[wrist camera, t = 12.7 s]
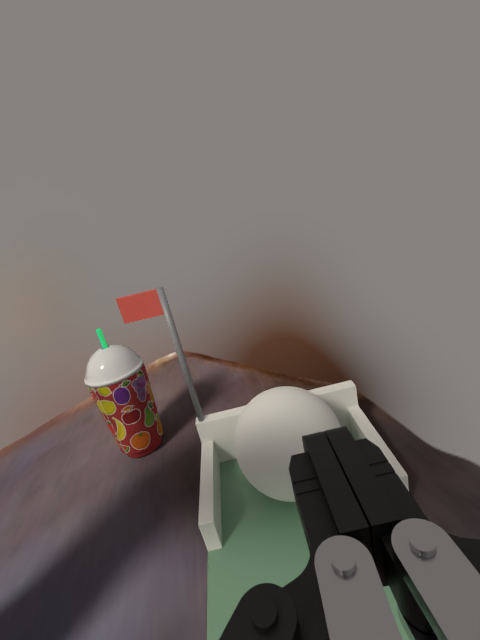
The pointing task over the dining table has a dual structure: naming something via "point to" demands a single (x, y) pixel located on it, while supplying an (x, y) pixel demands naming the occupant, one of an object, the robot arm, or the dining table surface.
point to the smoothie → (124, 398)
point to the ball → (278, 436)
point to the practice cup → (249, 492)
